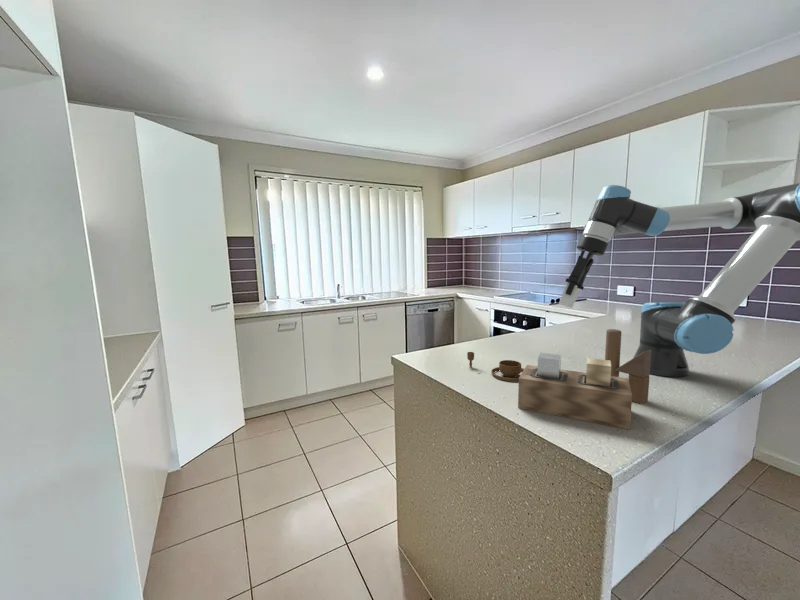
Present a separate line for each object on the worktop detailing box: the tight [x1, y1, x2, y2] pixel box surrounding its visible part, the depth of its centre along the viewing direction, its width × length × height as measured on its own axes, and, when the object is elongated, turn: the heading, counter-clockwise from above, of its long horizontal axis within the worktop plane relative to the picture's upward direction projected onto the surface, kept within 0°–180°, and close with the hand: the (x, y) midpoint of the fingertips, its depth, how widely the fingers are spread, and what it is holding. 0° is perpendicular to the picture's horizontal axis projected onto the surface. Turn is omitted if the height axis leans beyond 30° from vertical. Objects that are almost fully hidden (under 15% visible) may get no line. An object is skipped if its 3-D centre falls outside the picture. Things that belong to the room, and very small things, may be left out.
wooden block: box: [604, 328, 651, 405], centre depth 91 cm, size 4×11×18 cm, turn 29°
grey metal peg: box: [537, 352, 562, 379], centre depth 87 cm, size 5×5×7 cm
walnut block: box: [517, 364, 633, 430], centre depth 85 cm, size 24×12×8 cm, turn 60°
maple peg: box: [585, 357, 611, 387], centre depth 82 cm, size 5×5×7 cm
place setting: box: [466, 351, 525, 382], centre depth 114 cm, size 18×20×6 cm
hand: (565, 306), depth 102 cm, fingers open, 13 cm apart
